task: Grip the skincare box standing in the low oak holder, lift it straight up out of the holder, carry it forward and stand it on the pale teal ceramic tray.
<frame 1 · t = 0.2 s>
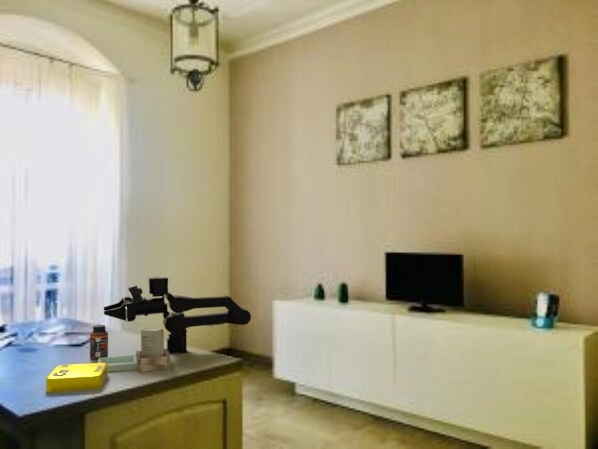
hand: (103, 310, 186), 17 cm above the table, tool horizontal, fingers open, 9 cm apart
tray: (117, 366, 175), on the table
skincare box: (152, 366, 175), resting in holder
supplement bottle: (99, 358, 186), on the table
holder: (152, 366, 175), on the table
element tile: (78, 385, 156), on the table
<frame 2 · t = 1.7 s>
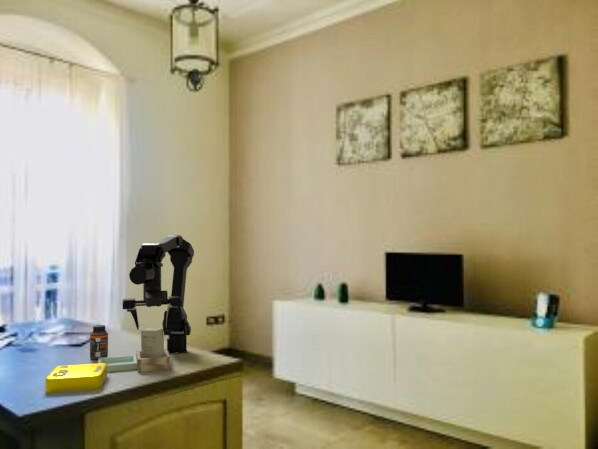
hand: (152, 328, 175), 12 cm above the table, tool pointing down, fingers open, 9 cm apart
nothing on the table moved.
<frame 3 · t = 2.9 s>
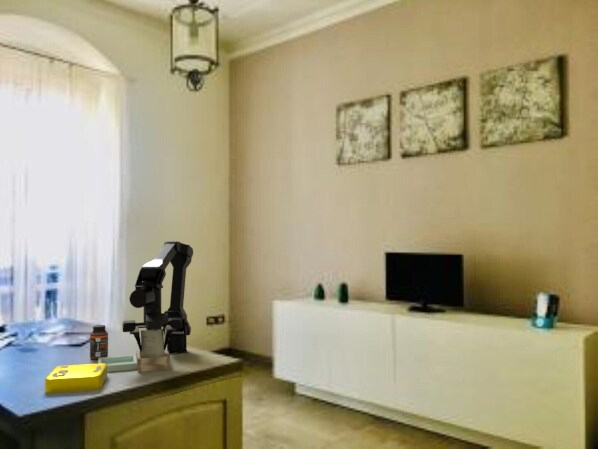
hand: (152, 350, 175), 5 cm above the table, tool pointing down, fingers closed on skincare box, 7 cm apart
skincare box: (152, 366, 175), resting in holder, touching gripper
everything else where it was.
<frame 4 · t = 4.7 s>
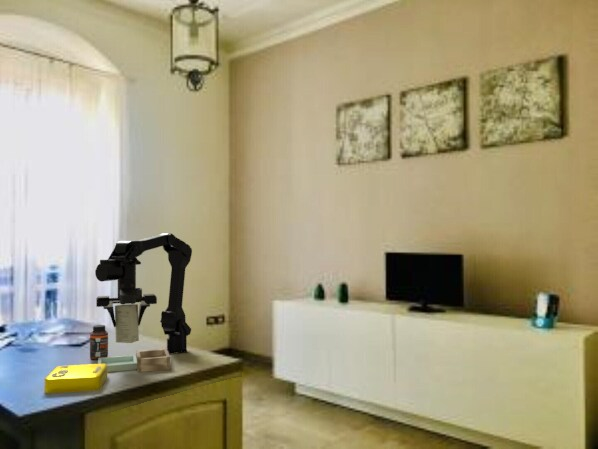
hand: (126, 326, 175), 13 cm above the table, tool pointing down, fingers closed on skincare box, 7 cm apart
skincare box: (126, 342, 175), point 8 cm above the table, touching gripper
everything else where it was.
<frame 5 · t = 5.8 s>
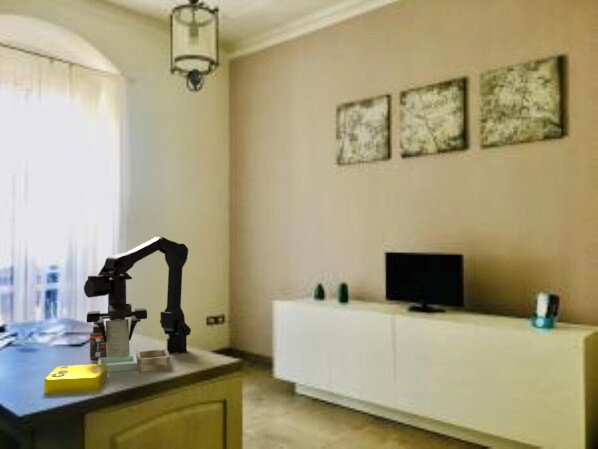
hand: (117, 341, 175), 8 cm above the table, tool pointing down, fingers closed on skincare box, 7 cm apart
skincare box: (117, 357, 175), point 3 cm above the table, touching gripper
when the fingers open (6 cm above the table, at t = 6.7 s): skincare box stays where it is, resting on tray.
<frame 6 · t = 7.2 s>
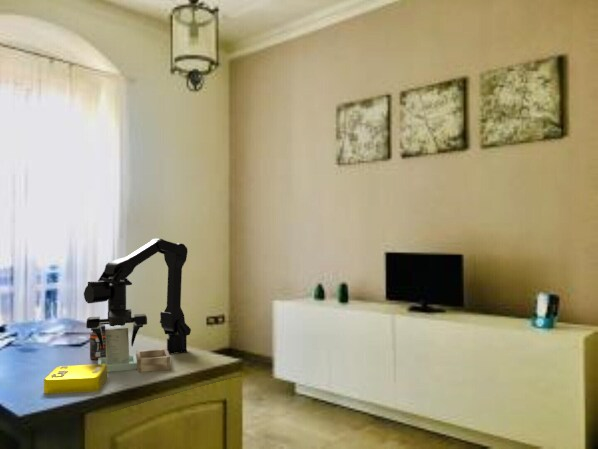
hand: (117, 347, 175), 6 cm above the table, tool pointing down, fingers open, 9 cm apart
skincare box: (117, 365, 175), resting on tray
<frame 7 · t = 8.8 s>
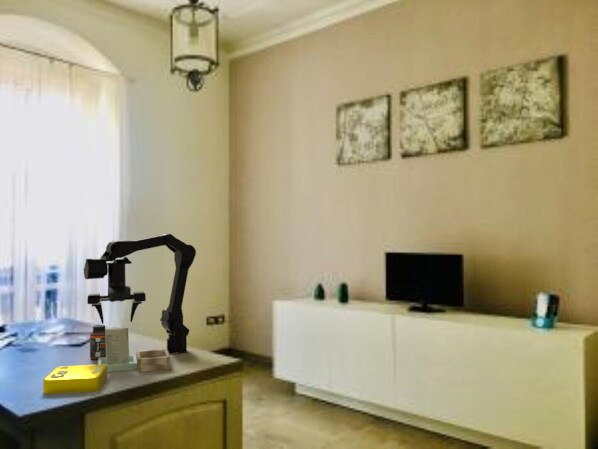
hand: (117, 322, 182), 13 cm above the table, tool pointing down, fingers open, 9 cm apart
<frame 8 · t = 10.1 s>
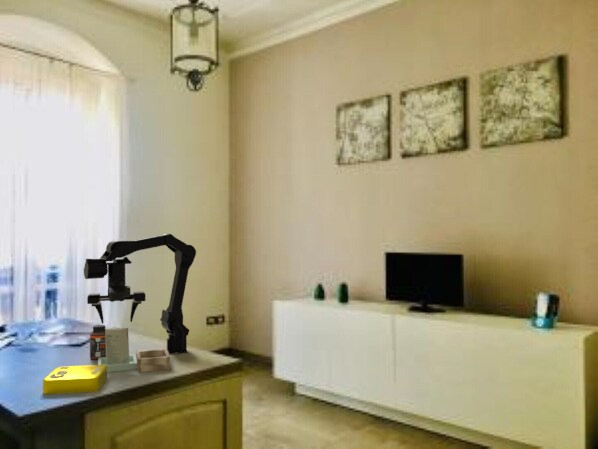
hand: (117, 322, 182), 13 cm above the table, tool pointing down, fingers open, 9 cm apart
at the end: skincare box inside the target area on the tray (0.0 cm from its centre), point 0.1 cm above the tray's base; skincare box tilted 0°; the gripper is holding nothing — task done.
